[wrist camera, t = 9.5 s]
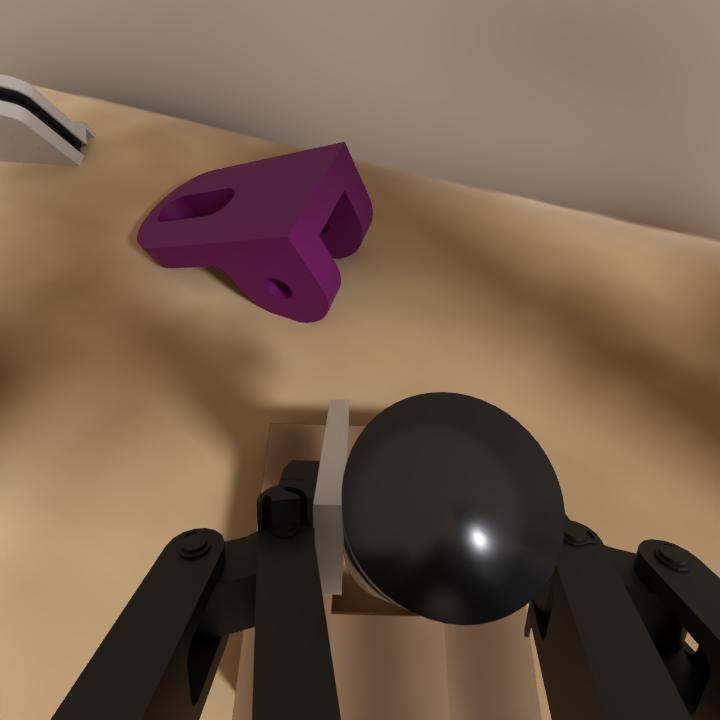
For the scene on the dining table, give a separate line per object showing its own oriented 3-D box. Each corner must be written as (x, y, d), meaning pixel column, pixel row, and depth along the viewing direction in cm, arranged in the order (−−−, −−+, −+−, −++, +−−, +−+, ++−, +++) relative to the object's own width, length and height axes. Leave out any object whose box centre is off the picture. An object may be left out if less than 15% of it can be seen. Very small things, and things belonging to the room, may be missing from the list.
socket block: (487, 443, 30) (501, 430, 27) (520, 711, 23) (542, 727, 20) (277, 437, 30) (270, 423, 27) (245, 705, 23) (232, 721, 20)
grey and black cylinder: (433, 499, 19) (542, 395, 9) (439, 601, 17) (588, 627, 7) (345, 497, 19) (346, 388, 8) (341, 598, 17) (335, 622, 7)
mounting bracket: (188, 316, 42) (345, 325, 32) (117, 251, 35) (286, 237, 26) (235, 247, 46) (386, 236, 37) (179, 177, 40) (345, 141, 30)
